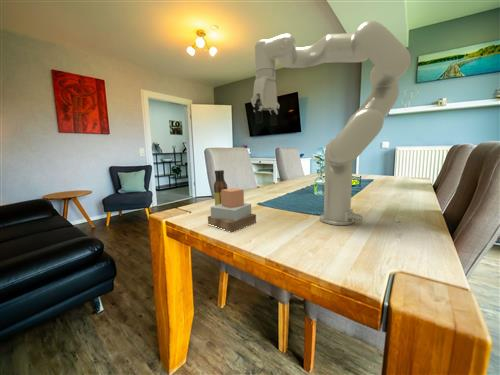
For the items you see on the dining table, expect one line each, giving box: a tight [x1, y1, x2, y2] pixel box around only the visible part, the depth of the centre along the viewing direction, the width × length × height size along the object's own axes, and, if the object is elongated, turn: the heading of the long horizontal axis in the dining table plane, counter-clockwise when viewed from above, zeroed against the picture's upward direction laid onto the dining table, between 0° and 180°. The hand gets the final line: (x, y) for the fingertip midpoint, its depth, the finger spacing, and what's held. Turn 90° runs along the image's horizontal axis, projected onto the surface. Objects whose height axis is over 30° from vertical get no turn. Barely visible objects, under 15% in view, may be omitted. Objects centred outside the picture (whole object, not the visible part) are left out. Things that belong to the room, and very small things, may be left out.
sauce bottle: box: [213, 169, 229, 206], centre depth 97 cm, size 6×6×20 cm
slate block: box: [210, 202, 252, 222], centre depth 83 cm, size 11×11×4 cm
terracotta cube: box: [221, 187, 245, 208], centre depth 82 cm, size 6×6×6 cm
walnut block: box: [207, 213, 257, 233], centre depth 84 cm, size 13×13×4 cm
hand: (266, 124), depth 85 cm, fingers open, 9 cm apart
